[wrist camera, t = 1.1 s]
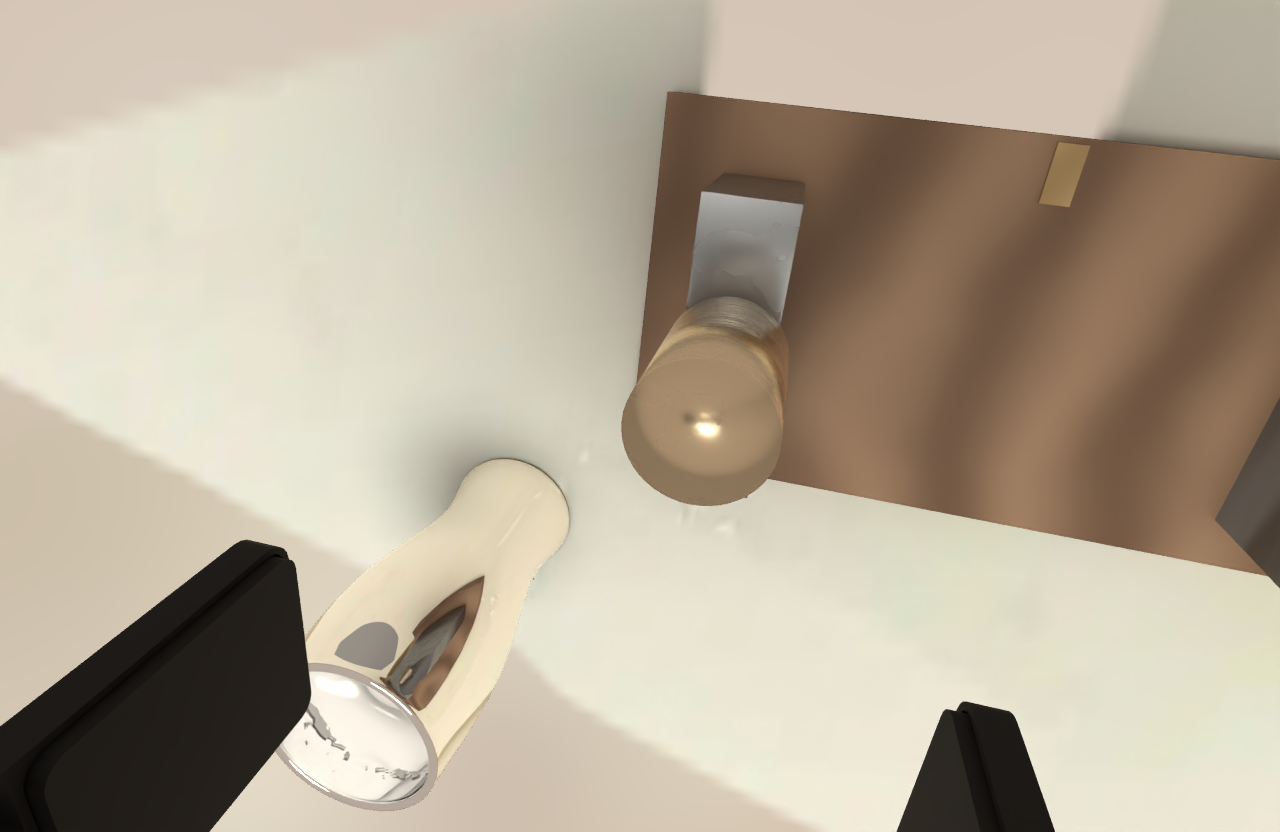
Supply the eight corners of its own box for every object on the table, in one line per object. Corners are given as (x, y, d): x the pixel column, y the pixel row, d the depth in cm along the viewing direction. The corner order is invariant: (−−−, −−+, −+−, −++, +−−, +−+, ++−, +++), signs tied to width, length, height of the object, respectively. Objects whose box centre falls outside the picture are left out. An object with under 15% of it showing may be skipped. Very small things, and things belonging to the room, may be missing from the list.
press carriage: (819, 184, 26) (823, 245, 15) (770, 429, 30) (747, 611, 19) (710, 170, 27) (641, 219, 16) (678, 412, 31) (605, 580, 20)
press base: (1522, 187, 23) (1812, 223, 16) (1294, 563, 29) (1436, 700, 23) (674, 91, 27) (630, 89, 21) (636, 437, 34) (593, 521, 27)
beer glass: (444, 539, 39) (251, 771, 26) (462, 431, 36) (253, 630, 22) (563, 583, 38) (429, 843, 25) (592, 476, 35) (456, 708, 22)
